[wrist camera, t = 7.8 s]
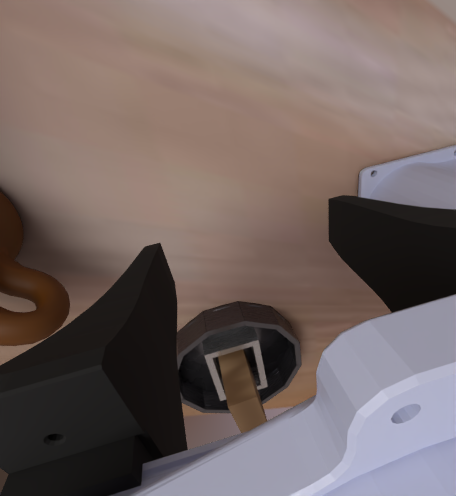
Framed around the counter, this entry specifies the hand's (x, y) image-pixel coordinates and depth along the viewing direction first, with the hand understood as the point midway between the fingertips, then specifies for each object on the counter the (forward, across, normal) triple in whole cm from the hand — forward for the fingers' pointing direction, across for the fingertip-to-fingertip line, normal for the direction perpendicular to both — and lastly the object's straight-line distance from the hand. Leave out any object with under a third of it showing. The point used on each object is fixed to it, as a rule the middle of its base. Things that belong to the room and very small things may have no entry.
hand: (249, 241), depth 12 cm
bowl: (+10, +2, +18) cm, 21 cm away
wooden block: (+10, +2, +18) cm, 20 cm away
